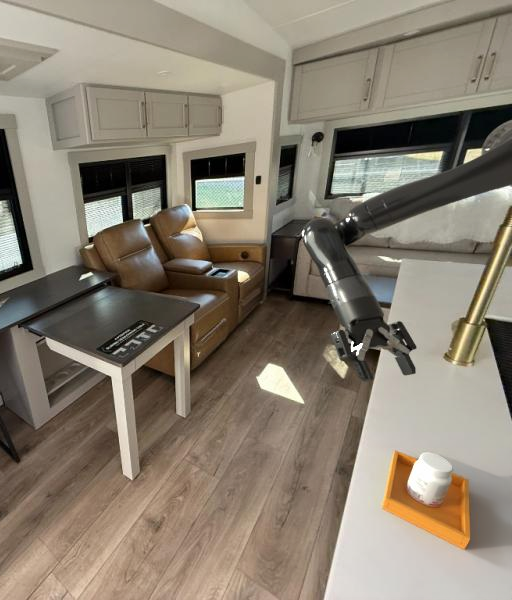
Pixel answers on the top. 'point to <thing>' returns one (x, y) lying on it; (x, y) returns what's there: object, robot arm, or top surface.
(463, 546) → the amber tray
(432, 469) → the pill bottle
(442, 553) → the top surface
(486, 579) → the top surface
